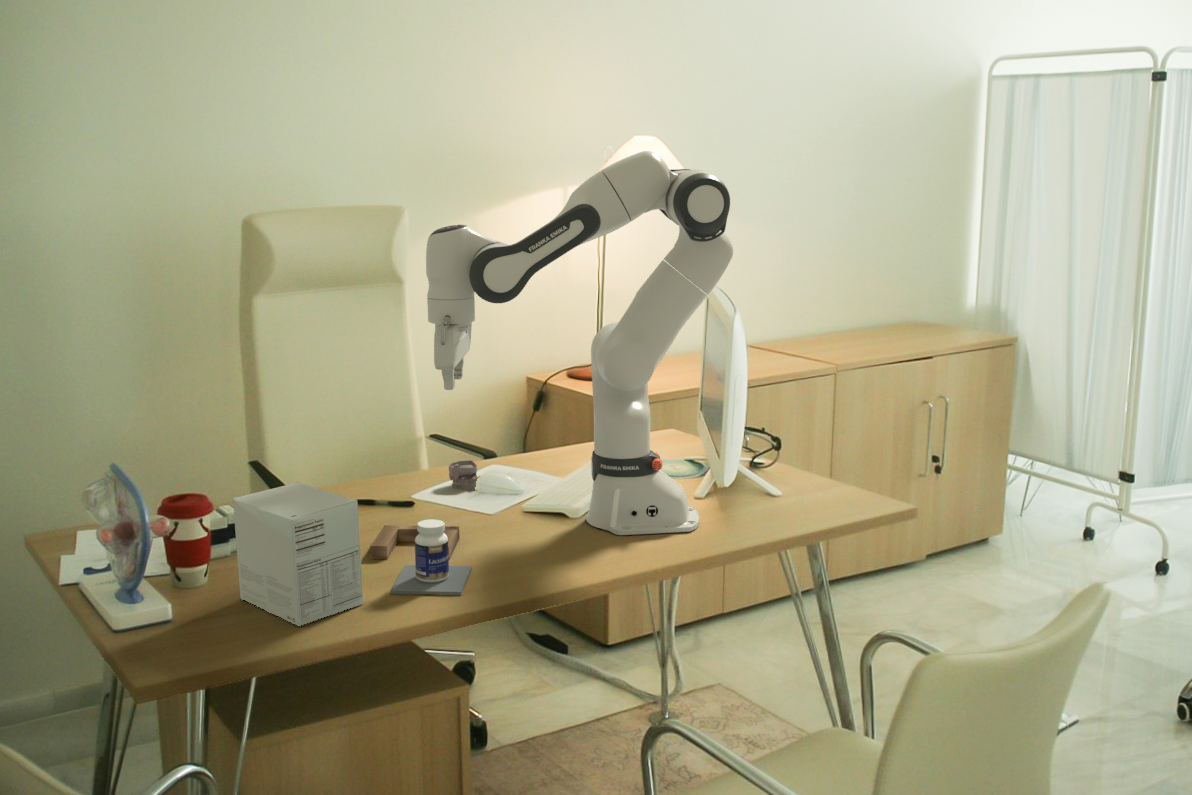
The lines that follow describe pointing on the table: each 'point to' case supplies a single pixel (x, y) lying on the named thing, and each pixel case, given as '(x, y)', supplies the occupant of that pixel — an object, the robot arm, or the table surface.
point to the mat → (449, 586)
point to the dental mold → (463, 474)
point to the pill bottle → (431, 551)
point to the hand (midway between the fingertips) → (453, 383)
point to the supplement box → (298, 552)
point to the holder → (406, 539)
